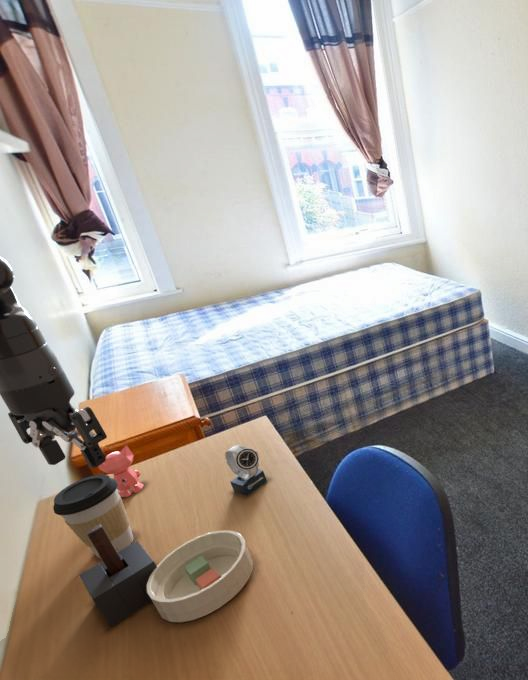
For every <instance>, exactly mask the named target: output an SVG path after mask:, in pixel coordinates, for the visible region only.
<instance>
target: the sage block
mask: <svg viewBox="0 0 528 680" xmlns="http://www.w3.org/2000/svg"><path fill="white" fill-rule="evenodd" d="M184 568H185V570H186V572H187V574H188V576H189V578H190V579H191V580H192V582H193V583H194V584H195V585H196V586H197V583H196V581H195V579H197V578H198V577H200V576H201V575H203V574H204V573H206V572H207V571H208V570H210V569H211V568H210V566H209V563H208V562H207V561H206V560H205V559H204V558H203V557H202V556H200V557H198V558H197V559H195V560H194V561H192V562H191V563H189V564H187V565H186V566H184Z"/></svg>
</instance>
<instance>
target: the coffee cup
mask: <svg viewBox="0 0 528 680" xmlns="http://www.w3.org/2000/svg"><path fill="white" fill-rule="evenodd" d="M117 487H118V483H117V481H116V480H114V477H113V478H112V477H110V476H109V475H108V474H95V475H90V476H87V477H84V478H82V479H79V480H77V481H75V482H73V483H71V484H69V485H68V486H65V488H62V490H60V491H59V492H58V493H57V494H56V495H55V497H54V499H53V507H52V509H53V512H54V514H55V515H57V516H61V517H62V519H63V520H64V523H65V524H66V525H67V526H68V527H69V529H71V531H72V532H73V533H74V534H75V535H76V537H77V538H79V540H80V541H81V542H82V543H83V544H84V545H85V546H86V547H87V548H89V550H90V551H92V553H93V554H94V555H95V556H96V557H97V558H99V559H101V557H100V555H99V554H98V552H97V550H96V549H95V547H94V545H93V544H92V542H91V540H90V539H89V537H88V535H87V534H86V532H87V531H88V530H90V529H92V528H94V527H96V526H98V525H101V526H102V528H103V529H104V531H105V533H106V535H107V536H108V538H109V540H110V542H111V543H112V545H113V547H114V549H115V550H116V552H119V551H120V550H122V549H124V548H125V547H127V546H129V545H131V544H132V543H133V542H134V535H133V532H132V528H131V526H130V520H129V517H128V515H127V514H128V513H127V511H126V509H125V505H124V503H123V500H122V497H121V496H120V495H119V490H118V489H117Z"/></svg>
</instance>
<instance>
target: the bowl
mask: <svg viewBox="0 0 528 680" xmlns="http://www.w3.org/2000/svg"><path fill="white" fill-rule="evenodd" d="M200 556H202V557H203V558H204V559H205V560H206V561H207V562H208V563H209V566H210V568H214V569H215V570H216V571H217V572H218V574H219V575H220V576H221V578H220V579H218V580H217V581H215V582H214V583H212V584H211V585H210V586H208V587H206V588H204V589H202V590H200V589H199V587H198V585H197V586H196V585H195V584H194V583H193V582H192V580H191V579H190V578H189V576H188V574H187V572H186V570H185V568H184V566H186V565H187V564H189V563H191V562H192V561H194V560H195V559H197V558H198V557H200ZM156 566H157V568H156V569H154V570H153V572H152V573H151V575H150V577H149V580H148V582H147V594H148V595H149V597H150V599H151V601H150V602H152V604H153V606H154V608H155V610H156V611H157V613H158V615H159V616H160V617H161V619H163V620H166V621H167V622H170V623H184V622H190V621H194V620H197V619H200V618H202V617H205V616H208V615H209V614H211V613H213V612H215V611H217V610H218V609H220V608H221V607H223V606H224V605H225V604H227V603H228V602H230V601H231V600H232V599H233V598H235V596H236V595H237V594H238V593H239V592H240V591H241V590H242V589H243V588H244V586H245V585H246V584H247V582H248V581H249V580H250V577H251V575H252V573H253V568H254V560H253V557H252V554H251V551H250V550H249V547H248V545H247V542H246V540H245V538H244V536H243V535H241V534H240V533H239V532H237V531H234V530H224V529H221V530H215V531H210V532H208V533H207V532H206V533H204V534H201V535H198V536H196V537H194V538H192V539H189V540H187V541H186V542H184V543H183V544H181V545H179V546H177V547H176V548H175V549H173V550H172V551H171V552H170V553H168V554H167V555H166V556H165V557H163V558H162V560H161V561H160V562H159V563H158V564H156Z"/></svg>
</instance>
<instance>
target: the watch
mask: <svg viewBox="0 0 528 680" xmlns="http://www.w3.org/2000/svg"><path fill="white" fill-rule="evenodd" d="M224 457H225V460H226V464H227V465H228V467H229V469H230V470H231V472H233V474H234V475H237V476H236V477H234V478H232V479H231V480H230V481H229V482H230V485H231V487H232V490H233V493H236V494H239V495H242V496H244V497H248V496H249V495H251V494H252V493H253V492H254V491H256V490H257V489H259V488H261V486H262V485H264V484H265V483H267V482H268V480H267V477H266V474H265V472H264V470H263V469H260V468H259V466H260V463H259V461H260V458H259V457H260V456H259V452H258V451H257V450H254V449H253V448H249V447H247V446H246V445H244V446H243V445H240V444H236V445H233V446H232V447H231V448H229V449H228V450H225V452H224Z"/></svg>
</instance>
